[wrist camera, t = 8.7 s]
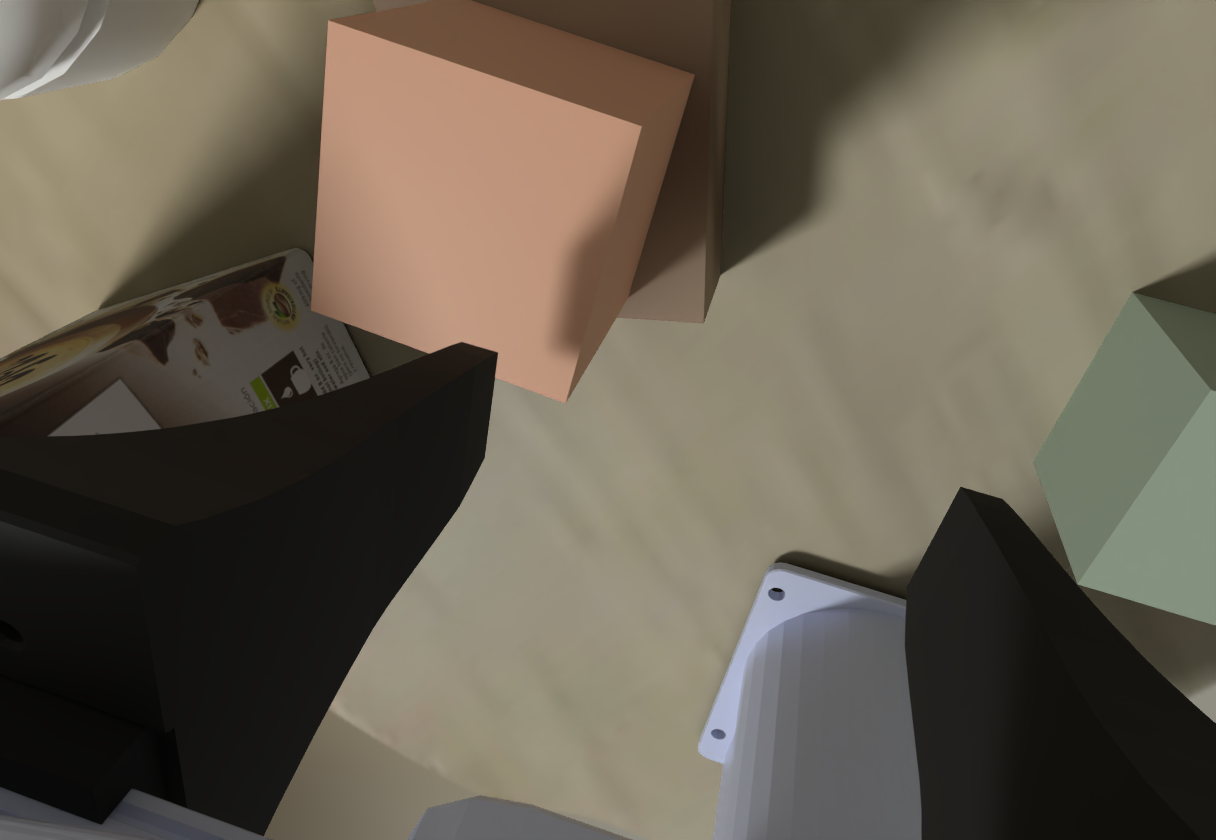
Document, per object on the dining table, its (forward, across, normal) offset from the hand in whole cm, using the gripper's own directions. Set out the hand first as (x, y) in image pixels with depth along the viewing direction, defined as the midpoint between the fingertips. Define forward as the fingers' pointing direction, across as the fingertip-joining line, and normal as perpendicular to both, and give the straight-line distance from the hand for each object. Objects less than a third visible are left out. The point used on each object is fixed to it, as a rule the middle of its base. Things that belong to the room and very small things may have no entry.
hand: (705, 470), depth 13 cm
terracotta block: (+7, +5, -2) cm, 9 cm away
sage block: (+10, -11, +1) cm, 15 cm away
